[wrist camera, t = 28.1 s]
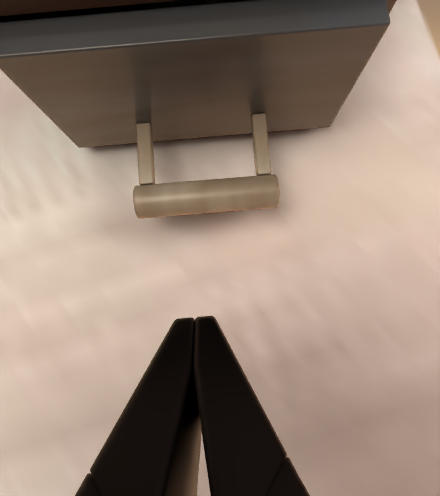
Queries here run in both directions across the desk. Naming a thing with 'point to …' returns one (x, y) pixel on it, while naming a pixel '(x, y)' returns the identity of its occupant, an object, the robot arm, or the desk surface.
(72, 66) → the drawer
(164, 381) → the robot arm
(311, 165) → the desk surface
